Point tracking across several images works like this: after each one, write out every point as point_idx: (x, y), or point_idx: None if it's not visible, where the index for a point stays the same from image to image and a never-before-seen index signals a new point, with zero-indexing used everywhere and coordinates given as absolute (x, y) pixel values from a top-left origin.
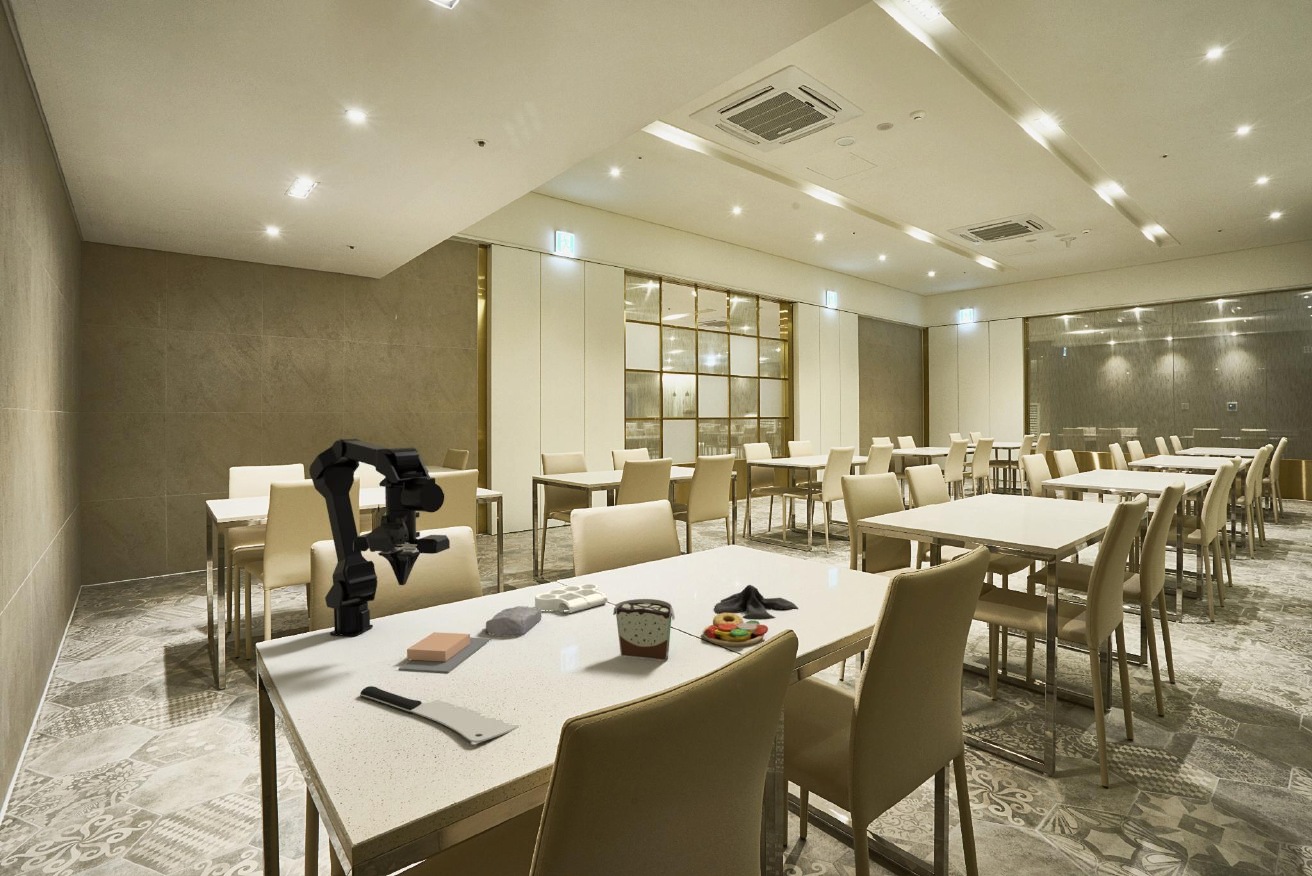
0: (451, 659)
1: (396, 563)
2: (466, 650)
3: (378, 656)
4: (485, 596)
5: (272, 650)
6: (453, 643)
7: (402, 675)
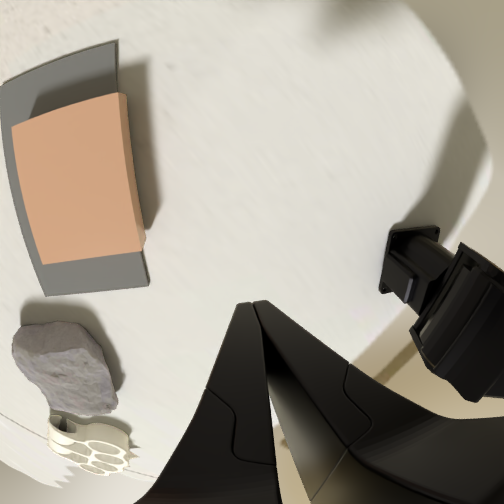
0: None
1: (331, 434)
2: None
3: (244, 109)
4: None
5: (478, 134)
6: (26, 185)
7: (87, 25)
